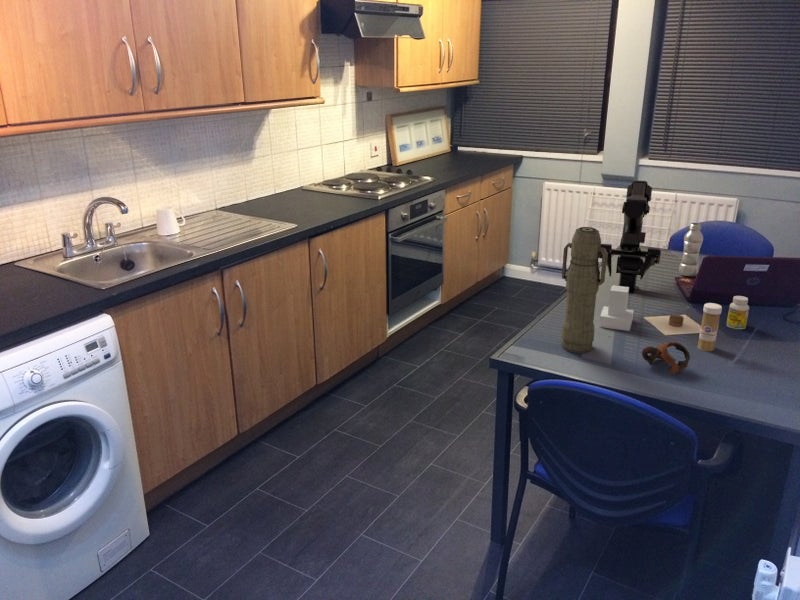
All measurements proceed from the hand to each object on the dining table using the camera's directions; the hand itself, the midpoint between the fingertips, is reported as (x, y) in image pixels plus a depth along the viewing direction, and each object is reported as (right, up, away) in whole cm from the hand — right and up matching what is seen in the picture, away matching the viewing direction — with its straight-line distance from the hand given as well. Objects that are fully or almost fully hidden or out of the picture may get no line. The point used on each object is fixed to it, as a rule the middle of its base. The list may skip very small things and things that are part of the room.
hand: (625, 277), depth 203 cm
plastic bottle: (+38, +2, +41) cm, 56 cm away
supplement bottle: (+32, -16, -5) cm, 36 cm away
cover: (-4, -15, -2) cm, 15 cm away
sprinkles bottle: (+16, -21, -19) cm, 33 cm away
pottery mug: (0, -25, -29) cm, 38 cm away
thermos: (-20, -21, -16) cm, 33 cm away
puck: (+14, -15, -3) cm, 21 cm away
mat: (+14, -15, -3) cm, 21 cm away
